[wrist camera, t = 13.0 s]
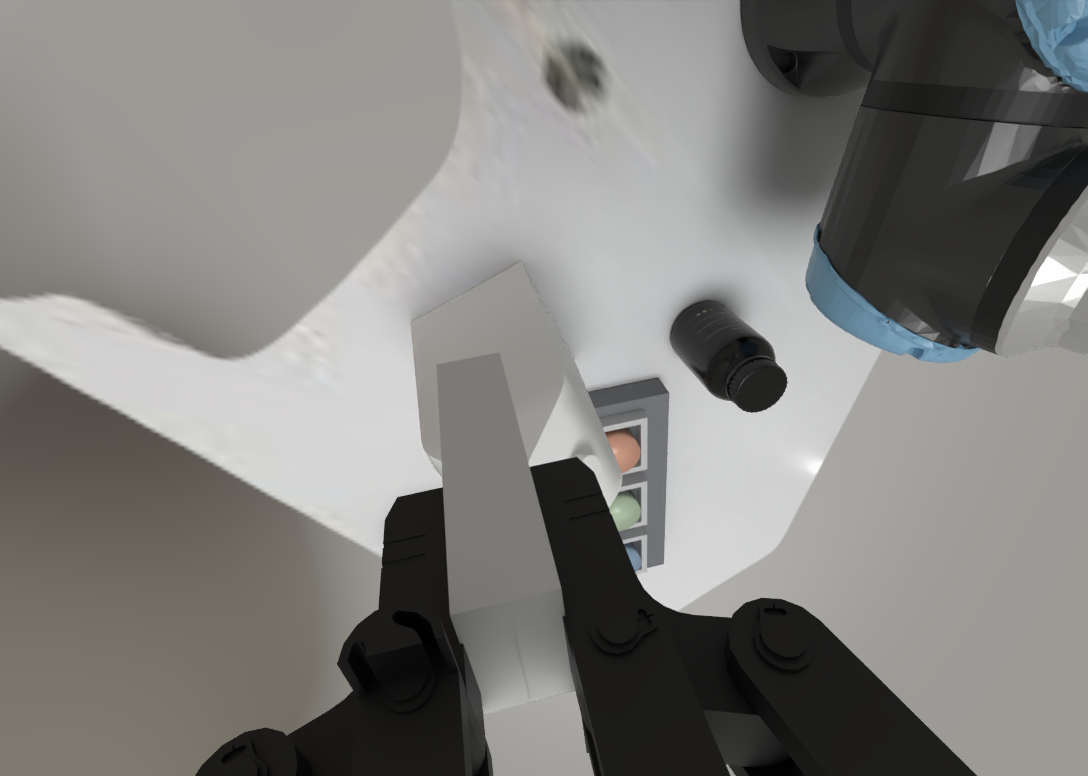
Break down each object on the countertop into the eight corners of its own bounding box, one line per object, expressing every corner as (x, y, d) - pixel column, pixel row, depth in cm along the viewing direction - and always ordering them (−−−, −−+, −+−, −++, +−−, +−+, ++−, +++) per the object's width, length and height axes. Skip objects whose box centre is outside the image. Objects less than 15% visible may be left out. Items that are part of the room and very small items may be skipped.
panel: (658, 377, 57) (674, 400, 53) (655, 546, 73) (668, 573, 69) (541, 401, 56) (550, 427, 52) (564, 568, 71) (572, 596, 68)
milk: (410, 322, 48) (403, 543, 27) (521, 261, 47) (605, 440, 26) (476, 411, 55) (512, 644, 34) (574, 360, 54) (676, 567, 32)
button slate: (636, 538, 65) (641, 548, 64) (637, 564, 68) (641, 574, 67) (597, 547, 65) (601, 558, 63) (599, 573, 67) (603, 583, 66)
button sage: (636, 486, 60) (640, 496, 59) (636, 516, 63) (641, 526, 61) (593, 495, 59) (597, 505, 58) (595, 525, 62) (599, 536, 61)
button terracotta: (635, 424, 55) (640, 433, 54) (635, 460, 58) (640, 469, 56) (588, 434, 54) (593, 443, 53) (591, 469, 57) (595, 479, 56)
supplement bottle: (734, 342, 57) (801, 405, 47) (675, 367, 57) (729, 435, 47) (725, 288, 53) (796, 343, 43) (662, 314, 53) (718, 376, 43)
